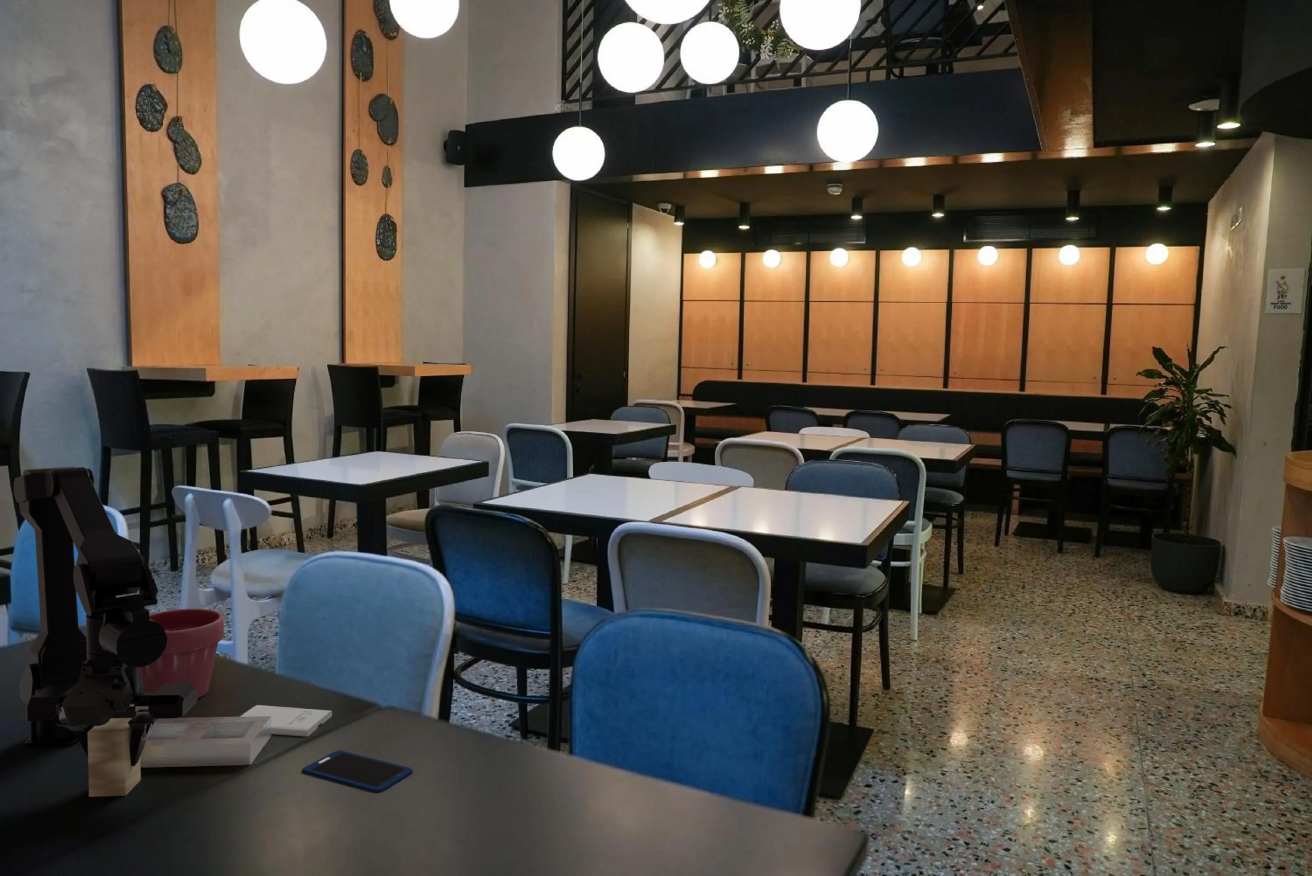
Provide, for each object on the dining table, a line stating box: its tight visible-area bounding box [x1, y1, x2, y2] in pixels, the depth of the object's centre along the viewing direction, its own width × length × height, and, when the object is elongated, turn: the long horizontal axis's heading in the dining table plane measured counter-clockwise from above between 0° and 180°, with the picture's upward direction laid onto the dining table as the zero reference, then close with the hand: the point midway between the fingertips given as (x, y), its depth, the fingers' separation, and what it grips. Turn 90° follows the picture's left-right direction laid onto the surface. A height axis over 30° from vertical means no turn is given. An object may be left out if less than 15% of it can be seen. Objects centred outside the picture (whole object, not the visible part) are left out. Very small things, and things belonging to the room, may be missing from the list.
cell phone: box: [301, 750, 414, 794], centre depth 126 cm, size 7×14×1 cm, turn 66°
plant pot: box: [139, 608, 225, 699], centre depth 152 cm, size 14×14×13 cm
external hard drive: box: [239, 704, 333, 737], centre depth 142 cm, size 2×8×12 cm
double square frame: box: [140, 716, 272, 769], centre depth 131 cm, size 18×10×3 cm, turn 97°
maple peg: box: [87, 717, 142, 798], centre depth 119 cm, size 4×4×8 cm
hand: (114, 765), depth 119 cm, fingers closed on maple peg, 4 cm apart
